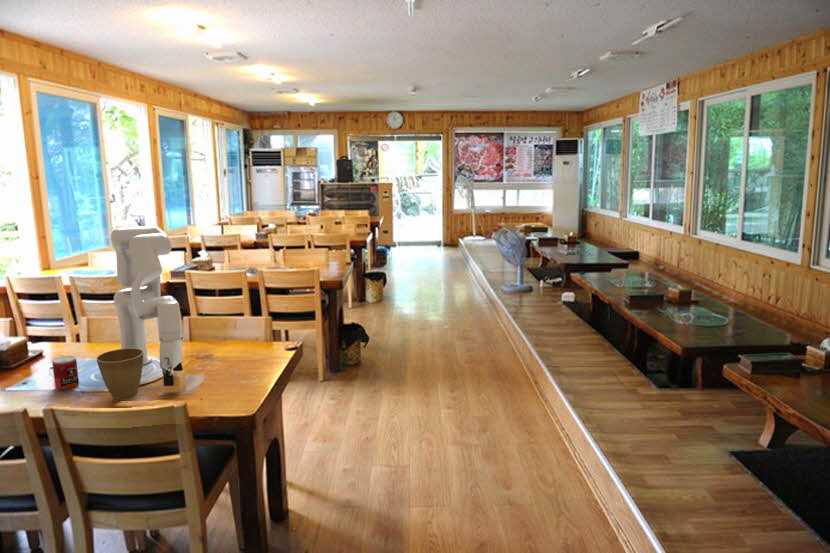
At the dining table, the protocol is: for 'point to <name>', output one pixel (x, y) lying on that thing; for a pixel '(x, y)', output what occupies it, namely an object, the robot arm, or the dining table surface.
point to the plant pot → (121, 371)
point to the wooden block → (176, 382)
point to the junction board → (188, 385)
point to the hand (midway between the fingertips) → (173, 380)
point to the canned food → (65, 372)
